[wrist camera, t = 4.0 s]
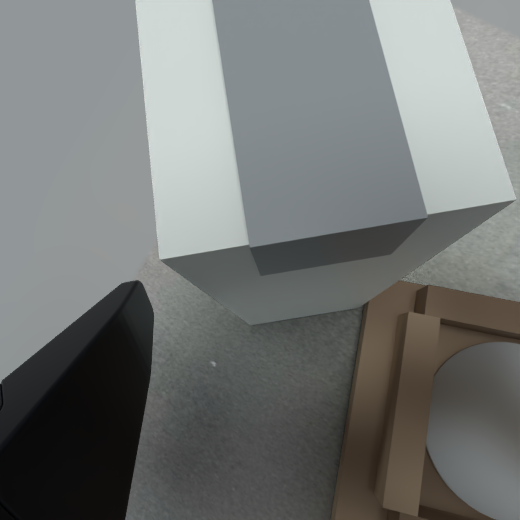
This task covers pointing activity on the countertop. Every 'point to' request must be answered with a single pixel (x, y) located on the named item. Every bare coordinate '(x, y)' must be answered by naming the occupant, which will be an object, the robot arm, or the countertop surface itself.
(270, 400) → the countertop surface
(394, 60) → the tall white box
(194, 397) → the countertop surface
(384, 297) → the wooden holder board
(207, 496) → the countertop surface
